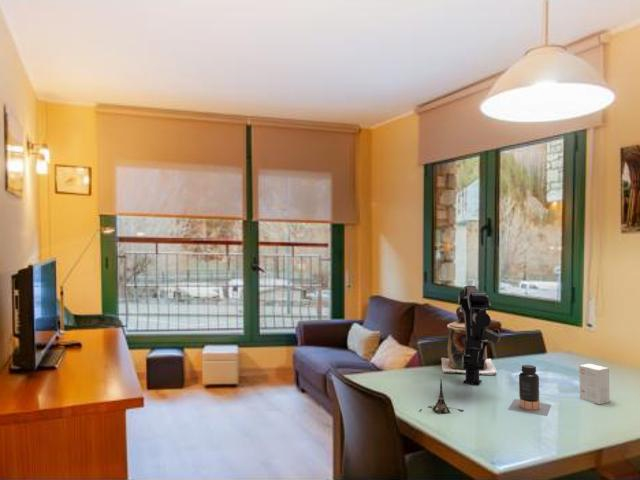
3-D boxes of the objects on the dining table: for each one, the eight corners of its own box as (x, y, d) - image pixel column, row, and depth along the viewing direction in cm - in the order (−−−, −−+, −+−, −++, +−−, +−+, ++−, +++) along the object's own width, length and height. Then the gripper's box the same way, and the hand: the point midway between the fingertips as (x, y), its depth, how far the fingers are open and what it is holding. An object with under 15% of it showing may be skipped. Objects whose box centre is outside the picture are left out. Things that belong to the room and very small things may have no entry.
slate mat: (514, 399, 185) (514, 399, 185) (551, 405, 178) (551, 404, 178) (507, 410, 174) (507, 409, 174) (547, 416, 167) (547, 416, 167)
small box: (610, 402, 181) (609, 368, 181) (599, 405, 178) (598, 370, 178) (589, 396, 189) (589, 363, 189) (579, 398, 186) (578, 365, 186)
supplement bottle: (543, 400, 174) (543, 367, 174) (527, 402, 172) (527, 369, 172) (530, 394, 180) (530, 363, 180) (515, 396, 179) (514, 364, 179)
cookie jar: (440, 360, 246) (439, 298, 245) (491, 362, 240) (490, 299, 240) (442, 374, 221) (441, 305, 221) (498, 376, 216) (497, 306, 216)
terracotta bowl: (521, 402, 181) (521, 394, 181) (540, 405, 177) (540, 397, 177) (518, 408, 175) (518, 400, 175) (538, 411, 172) (538, 403, 172)
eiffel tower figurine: (467, 412, 174) (466, 375, 174) (459, 421, 166) (458, 382, 166) (427, 404, 182) (426, 369, 182) (417, 413, 174) (417, 376, 174)
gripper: (493, 328, 180) (494, 369, 180) (503, 321, 196) (504, 359, 196) (464, 325, 186) (464, 365, 186) (476, 318, 202) (476, 355, 202)
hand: (478, 361), depth 193 cm, fingers open, 9 cm apart
